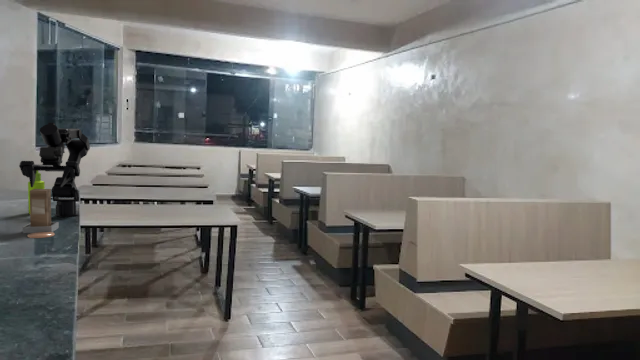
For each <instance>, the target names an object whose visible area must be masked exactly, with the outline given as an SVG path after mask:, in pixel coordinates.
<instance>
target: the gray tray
mask: <svg viewBox="0 0 640 360" xmlns="http://www.w3.org/2000/svg"><path fill="white" fill-rule="evenodd" d="M59 228H60V226H59V221H51V226H44V227H31V226H30V222H29V223H28V224H25V225H24V226H22V234H30V233H36V232H53V233H54V232H55V231H56V230H57V229H59Z"/></svg>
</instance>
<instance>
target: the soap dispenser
mask: <svg viewBox="0 0 640 360" xmlns="http://www.w3.org/2000/svg"><path fill="white" fill-rule="evenodd" d="M35 176H36V178H35V182H34V185H33V187H31V185H30V180H29V181H28V182H27V198H28V200H27V201H28V202H27V203H28V214H29V215H30V190H33V189H46V188H45V187H46V186H45V181H43V180H42V173H41V172H39V171H36V175H35Z"/></svg>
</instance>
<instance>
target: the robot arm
mask: <svg viewBox="0 0 640 360" xmlns="http://www.w3.org/2000/svg"><path fill="white" fill-rule="evenodd" d="M39 132H40V135H41V138H42V140H43V143H44V144H45V145H47V146H40V147H39V157H40V163H41V164H40V163H39V164H35V162H34V160H21V161H20V162H19V165H18V166H19V169H20V171H21V174H22V175H23V177H26V178H29V181H30V185H31V187H33V185H34V182H35V178H36V176H35V175H36V171H38V172H39V171H42V172H43V171H44V172H56V173H57V172H58V173H59V172H60V173H61V172H62V176H58V177H56V178H55V182H54V183H53V185H52V187H51V198H52V201H53V202H56V205H55V214H54V217H55V216H56V217H59V218H60V217H61V218H69V217H76V216H79V214H78V213H77V202H80V193H79V190H78V187H77V186H76V182H75V181H76V178H78V177H80V176H81V169H80V164H81V160H82V159H83V158H84V157H86V156H87V154H88V152H89V151H90V148H91V144H90V141H89V138H88V137H87V136H86V135H85V134H84V133H82V129H79V128H74V127H73V128H70V127H69V128H60V127H59V128H58V126H57V125H55V122H48V123H47V124H45V125H42V126H41V127H40V128H39ZM65 148H67V151H68V158H67V160H66V161H65V165H62V164H63V156H64V154H65Z"/></svg>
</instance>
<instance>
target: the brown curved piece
mask: <svg viewBox="0 0 640 360" xmlns="http://www.w3.org/2000/svg"><path fill="white" fill-rule="evenodd" d="M54 236H55V232H54V231H53V232H36V233H27V238H31V239H42V238H51V237H54Z"/></svg>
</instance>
